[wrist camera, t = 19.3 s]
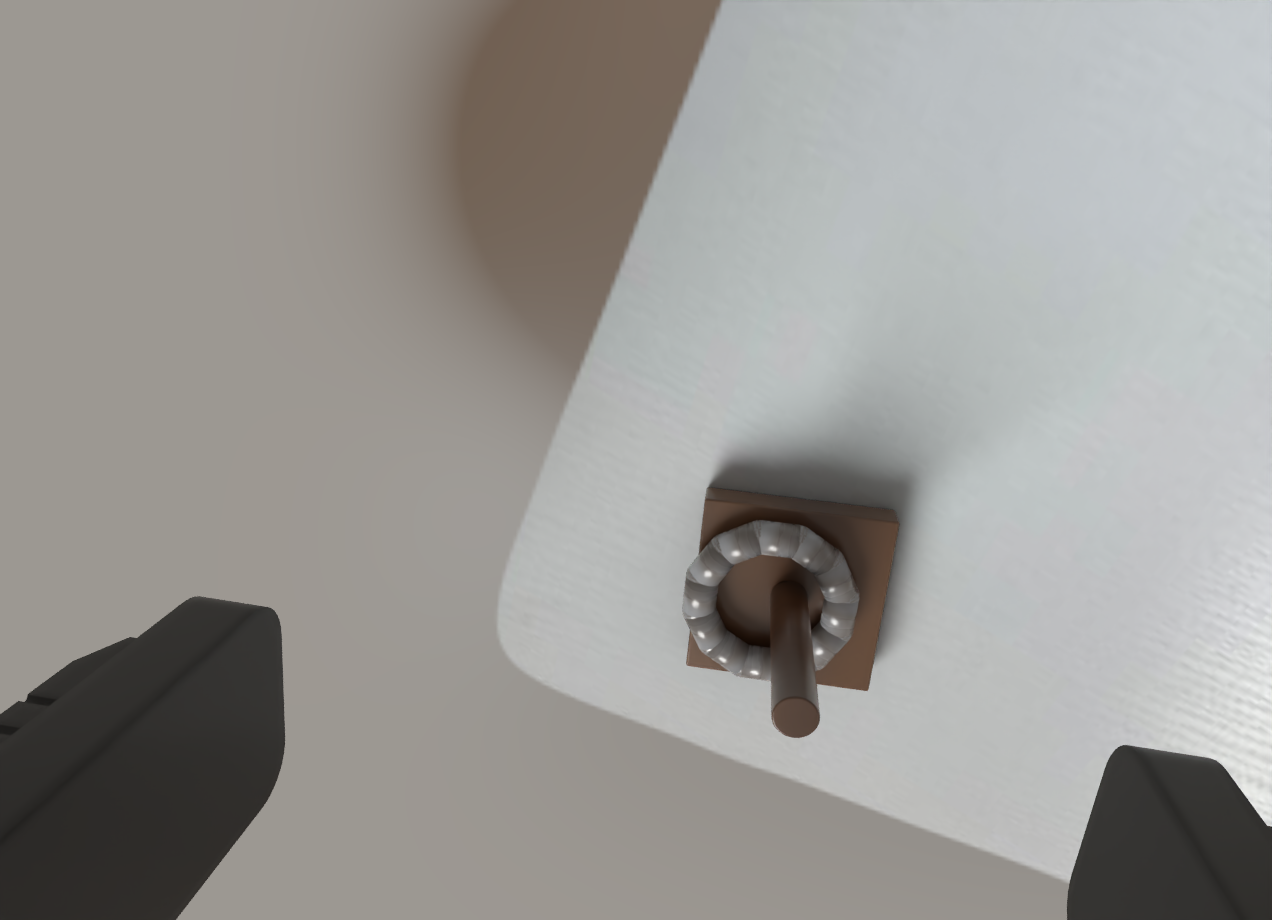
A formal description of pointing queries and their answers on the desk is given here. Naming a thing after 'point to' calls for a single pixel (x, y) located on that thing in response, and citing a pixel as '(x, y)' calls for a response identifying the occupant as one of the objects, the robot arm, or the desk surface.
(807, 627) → the stand
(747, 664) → the grey beaded ring
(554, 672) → the desk surface
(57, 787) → the robot arm
